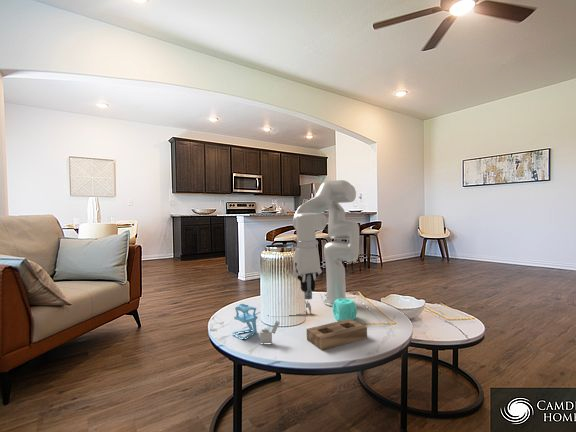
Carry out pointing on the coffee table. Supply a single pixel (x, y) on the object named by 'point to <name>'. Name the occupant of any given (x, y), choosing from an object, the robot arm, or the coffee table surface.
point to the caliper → (308, 307)
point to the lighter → (268, 334)
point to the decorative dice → (344, 309)
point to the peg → (308, 286)
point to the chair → (246, 319)
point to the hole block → (336, 334)
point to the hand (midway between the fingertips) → (308, 290)
